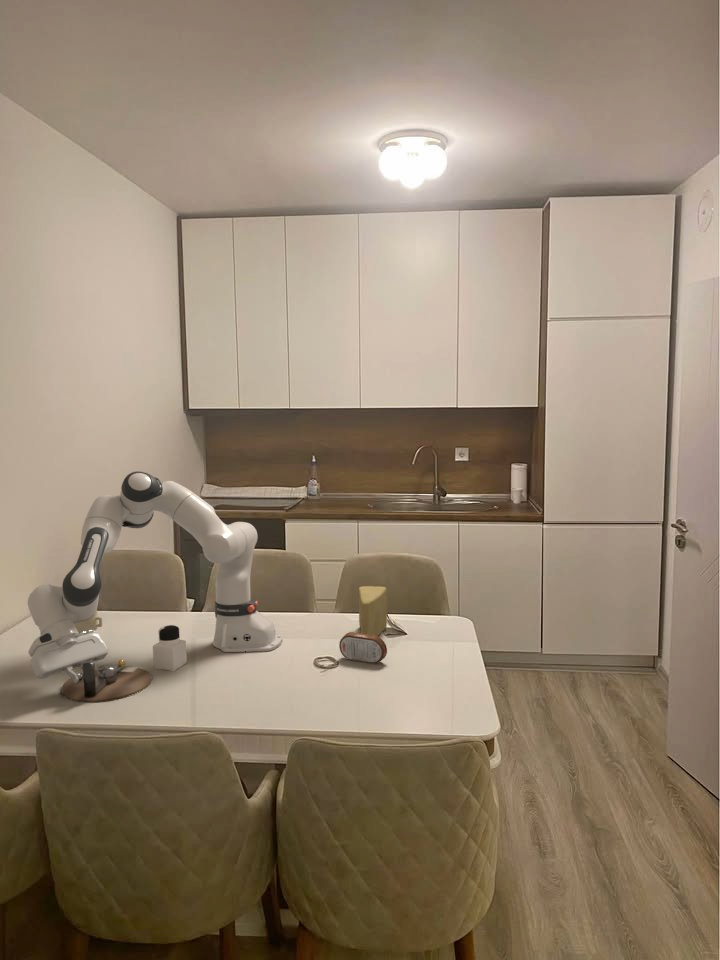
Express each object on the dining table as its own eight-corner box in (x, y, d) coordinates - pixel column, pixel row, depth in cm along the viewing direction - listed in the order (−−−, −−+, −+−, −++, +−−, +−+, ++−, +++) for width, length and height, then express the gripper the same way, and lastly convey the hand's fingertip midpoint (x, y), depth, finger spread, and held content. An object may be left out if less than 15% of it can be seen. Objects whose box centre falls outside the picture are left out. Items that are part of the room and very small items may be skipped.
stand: (165, 670, 221) (164, 666, 221) (128, 704, 197) (128, 699, 197) (89, 667, 224) (88, 663, 224) (44, 699, 201) (43, 695, 201)
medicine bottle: (187, 662, 227) (185, 624, 226) (174, 671, 220) (172, 631, 219) (167, 660, 229) (165, 622, 228) (153, 668, 223) (151, 629, 221)
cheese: (381, 649, 236) (380, 603, 234) (350, 648, 237) (349, 602, 236) (387, 627, 258) (387, 585, 256) (359, 627, 259) (359, 584, 257)
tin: (387, 663, 224) (387, 636, 223) (383, 666, 222) (383, 639, 221) (342, 656, 231) (342, 629, 230) (338, 659, 228) (337, 632, 227)
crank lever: (128, 667, 221) (126, 638, 220) (100, 697, 199) (99, 664, 198) (111, 667, 221) (109, 638, 220) (82, 697, 199) (80, 664, 198)
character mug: (109, 647, 242) (106, 608, 240) (98, 655, 235) (95, 614, 233) (77, 645, 244) (75, 607, 242) (66, 653, 237) (63, 613, 235)
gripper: (91, 634, 216) (112, 674, 211) (22, 653, 200) (42, 698, 195) (99, 622, 212) (120, 663, 207) (29, 641, 197) (50, 685, 192)
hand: (82, 680), depth 201 cm, fingers closed
